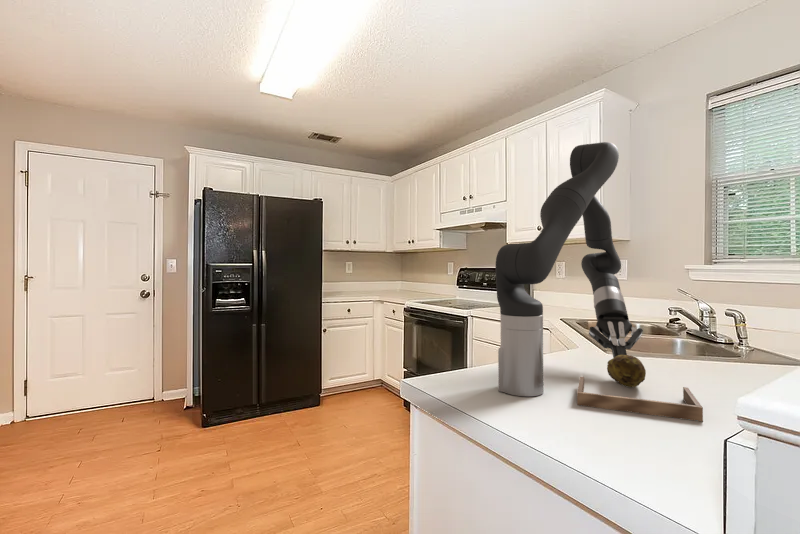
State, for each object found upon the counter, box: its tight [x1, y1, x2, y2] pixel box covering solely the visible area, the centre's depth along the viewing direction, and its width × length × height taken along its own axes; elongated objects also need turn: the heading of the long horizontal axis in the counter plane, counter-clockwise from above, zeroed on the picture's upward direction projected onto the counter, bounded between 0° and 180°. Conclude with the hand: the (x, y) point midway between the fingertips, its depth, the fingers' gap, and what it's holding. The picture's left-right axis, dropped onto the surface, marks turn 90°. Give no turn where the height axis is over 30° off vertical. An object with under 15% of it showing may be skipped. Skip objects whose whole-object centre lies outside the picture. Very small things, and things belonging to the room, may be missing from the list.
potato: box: [606, 354, 647, 388], centre depth 94 cm, size 8×13×8 cm, turn 147°
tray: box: [576, 376, 704, 422], centre depth 83 cm, size 21×14×2 cm, turn 64°
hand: (621, 361), depth 99 cm, fingers closed
